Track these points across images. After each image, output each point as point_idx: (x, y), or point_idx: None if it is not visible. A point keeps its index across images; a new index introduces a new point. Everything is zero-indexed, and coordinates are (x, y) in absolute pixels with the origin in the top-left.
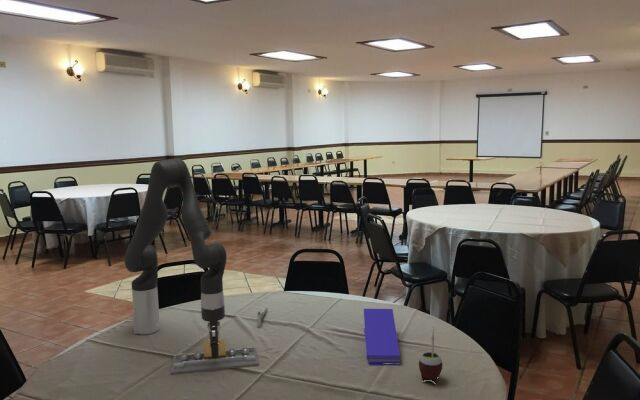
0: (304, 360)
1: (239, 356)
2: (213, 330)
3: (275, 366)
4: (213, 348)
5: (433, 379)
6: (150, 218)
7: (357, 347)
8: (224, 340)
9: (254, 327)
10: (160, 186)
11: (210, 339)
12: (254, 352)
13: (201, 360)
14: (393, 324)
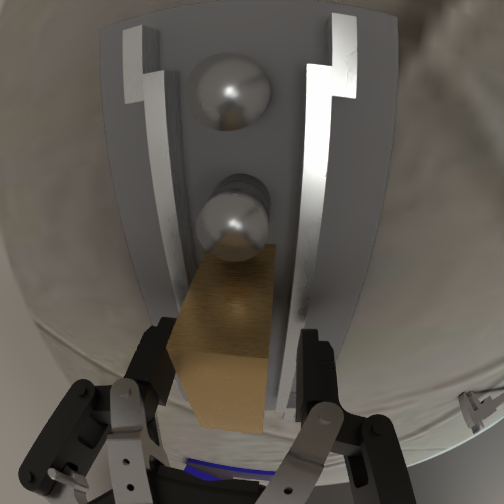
0: (210, 438)
1: None
2: (42, 495)
3: (180, 410)
4: (129, 376)
5: None
6: None
7: (251, 466)
8: (248, 431)
9: (471, 385)
10: None
11: (43, 432)
12: (274, 407)
13: (166, 239)
14: None
